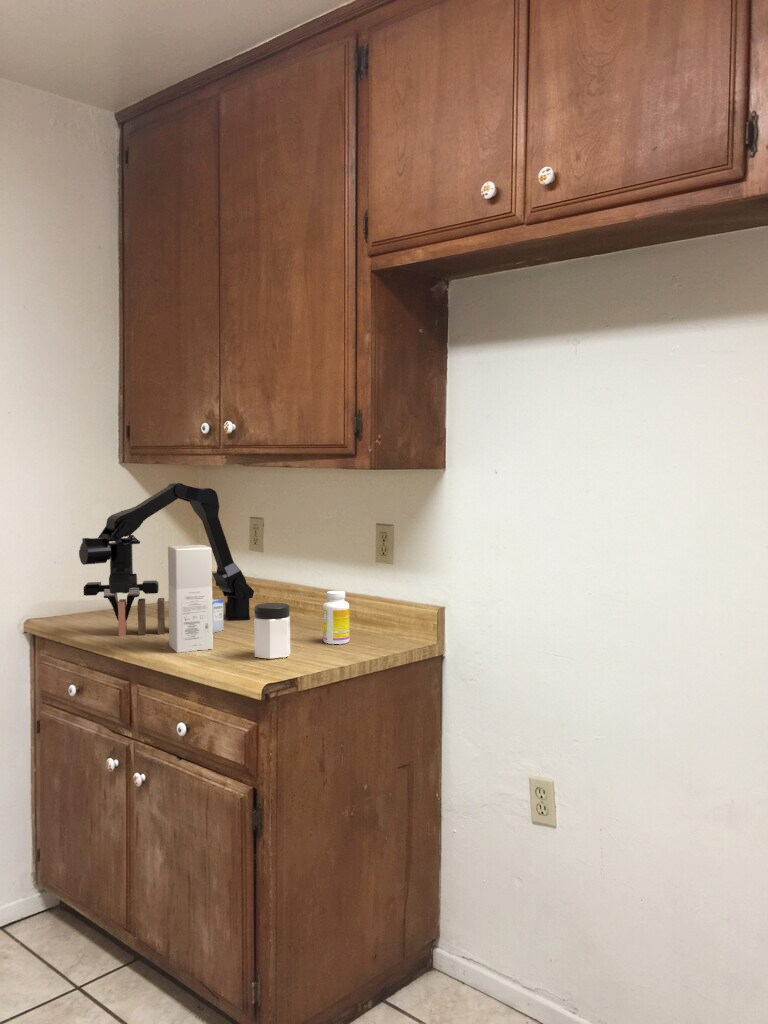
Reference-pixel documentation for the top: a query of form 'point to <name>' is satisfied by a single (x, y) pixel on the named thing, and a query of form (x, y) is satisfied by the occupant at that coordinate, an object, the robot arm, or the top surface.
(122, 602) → the tile
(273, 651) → the jar
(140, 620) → the tile
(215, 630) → the medicine box
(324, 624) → the supplement bottle
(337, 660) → the top surface
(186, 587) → the tall white carton
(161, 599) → the tile
